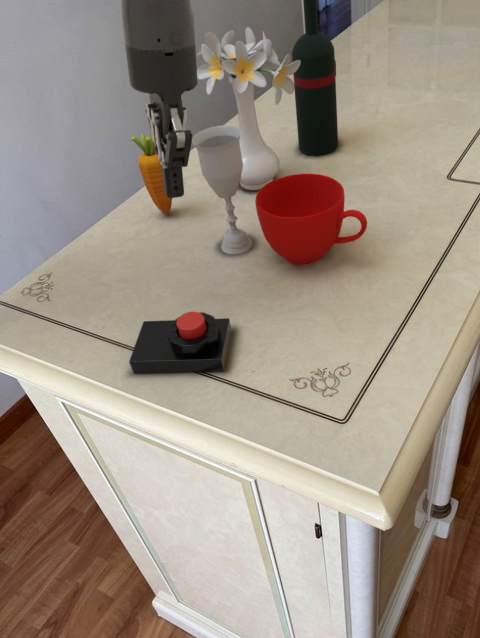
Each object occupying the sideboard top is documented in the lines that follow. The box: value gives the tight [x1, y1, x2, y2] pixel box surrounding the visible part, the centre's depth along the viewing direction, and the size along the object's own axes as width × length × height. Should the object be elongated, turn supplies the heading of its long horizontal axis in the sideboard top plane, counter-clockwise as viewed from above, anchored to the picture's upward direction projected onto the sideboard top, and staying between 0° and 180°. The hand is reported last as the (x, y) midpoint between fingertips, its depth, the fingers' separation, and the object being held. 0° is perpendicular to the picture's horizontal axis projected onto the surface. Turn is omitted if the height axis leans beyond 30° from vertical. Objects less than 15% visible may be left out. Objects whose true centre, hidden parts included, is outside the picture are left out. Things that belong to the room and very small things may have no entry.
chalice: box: [191, 124, 253, 255], centre depth 89 cm, size 7×7×18 cm
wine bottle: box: [291, 0, 339, 157], centre depth 108 cm, size 8×10×30 cm
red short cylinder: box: [176, 311, 207, 340], centre depth 75 cm, size 4×4×2 cm
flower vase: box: [196, 26, 301, 191], centre depth 101 cm, size 13×18×25 cm
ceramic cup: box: [254, 173, 368, 266], centre depth 87 cm, size 13×17×10 cm
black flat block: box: [128, 311, 233, 374], centre depth 77 cm, size 12×8×4 cm, turn 86°
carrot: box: [131, 132, 173, 216], centre depth 100 cm, size 5×5×15 cm
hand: (174, 195), depth 74 cm, fingers closed
